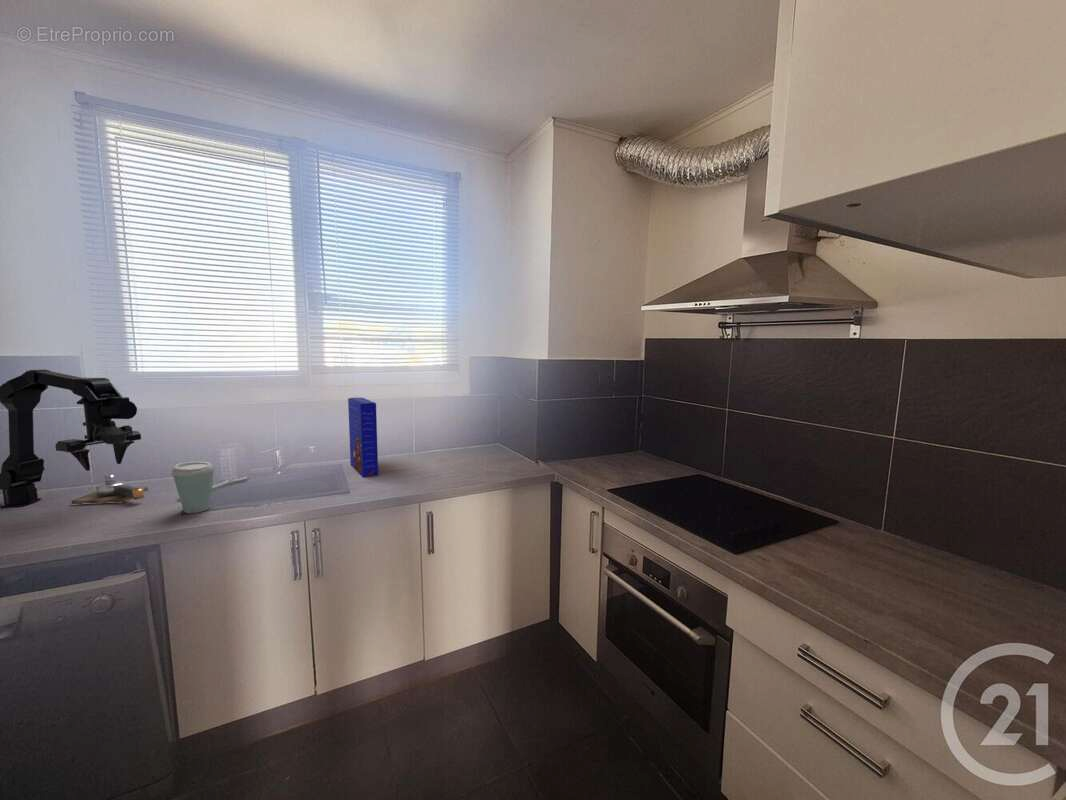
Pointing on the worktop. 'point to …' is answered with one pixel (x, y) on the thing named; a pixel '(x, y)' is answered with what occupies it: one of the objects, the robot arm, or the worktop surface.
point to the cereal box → (363, 436)
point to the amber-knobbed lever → (118, 488)
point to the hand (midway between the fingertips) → (103, 467)
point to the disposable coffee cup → (194, 485)
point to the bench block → (102, 498)
